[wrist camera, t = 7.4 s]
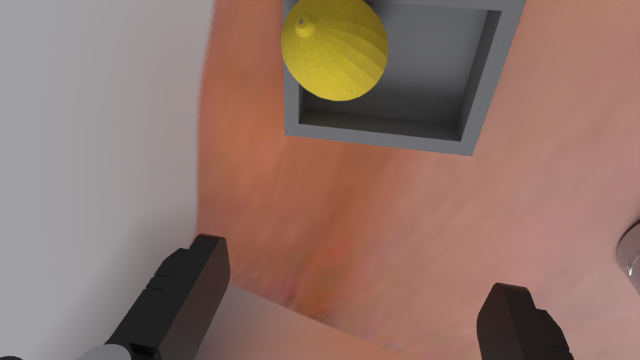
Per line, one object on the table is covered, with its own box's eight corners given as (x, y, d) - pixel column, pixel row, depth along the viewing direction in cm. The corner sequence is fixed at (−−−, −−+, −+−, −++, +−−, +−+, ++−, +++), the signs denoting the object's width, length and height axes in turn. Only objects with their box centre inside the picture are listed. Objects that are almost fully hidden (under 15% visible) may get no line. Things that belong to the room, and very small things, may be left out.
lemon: (330, 27, 25) (261, -35, 17) (409, 26, 22) (367, -47, 15) (318, 107, 25) (245, 78, 18) (394, 114, 23) (346, 85, 15)
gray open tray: (512, -17, 21) (529, -9, 18) (463, 135, 27) (471, 156, 24) (293, -32, 22) (281, -26, 19) (293, 116, 28) (284, 134, 25)
